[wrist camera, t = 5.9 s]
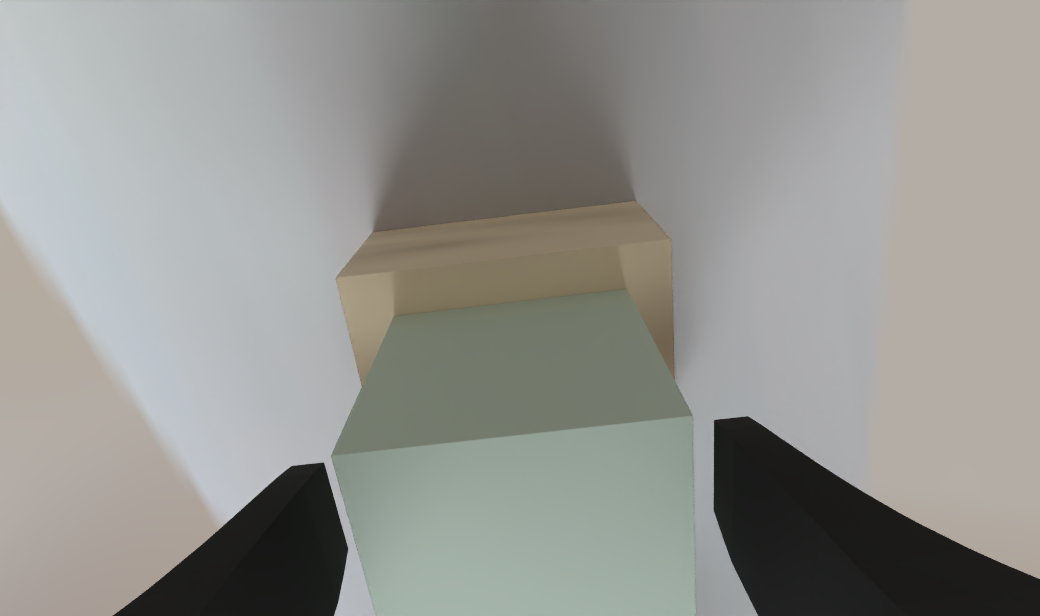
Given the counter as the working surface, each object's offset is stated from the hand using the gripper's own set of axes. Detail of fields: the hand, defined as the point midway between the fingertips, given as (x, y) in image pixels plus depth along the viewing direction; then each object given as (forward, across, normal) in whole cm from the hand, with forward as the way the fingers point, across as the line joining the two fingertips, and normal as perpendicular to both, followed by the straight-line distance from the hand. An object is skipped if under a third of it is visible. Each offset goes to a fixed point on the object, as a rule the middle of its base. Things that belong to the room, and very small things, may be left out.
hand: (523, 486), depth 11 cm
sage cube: (+3, 0, 0) cm, 3 cm away
